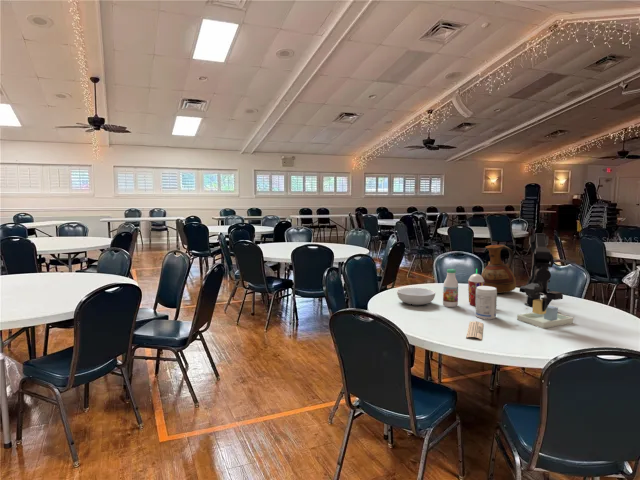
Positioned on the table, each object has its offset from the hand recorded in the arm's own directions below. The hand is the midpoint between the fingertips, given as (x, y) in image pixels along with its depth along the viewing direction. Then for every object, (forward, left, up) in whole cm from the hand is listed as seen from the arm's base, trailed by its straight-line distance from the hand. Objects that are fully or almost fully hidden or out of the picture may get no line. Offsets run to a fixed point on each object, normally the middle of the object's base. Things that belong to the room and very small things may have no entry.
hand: (539, 310), depth 192 cm
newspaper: (+36, -2, -7) cm, 37 cm away
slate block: (-8, 0, -5) cm, 10 cm away
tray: (-4, 0, -6) cm, 7 cm away
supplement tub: (+16, -17, -6) cm, 24 cm away
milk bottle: (+17, -41, -6) cm, 45 cm away
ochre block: (0, 0, -1) cm, 1 cm away
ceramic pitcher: (-33, -55, -6) cm, 64 cm away
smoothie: (+3, -37, -6) cm, 38 cm away
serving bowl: (+31, -53, -6) cm, 62 cm away
